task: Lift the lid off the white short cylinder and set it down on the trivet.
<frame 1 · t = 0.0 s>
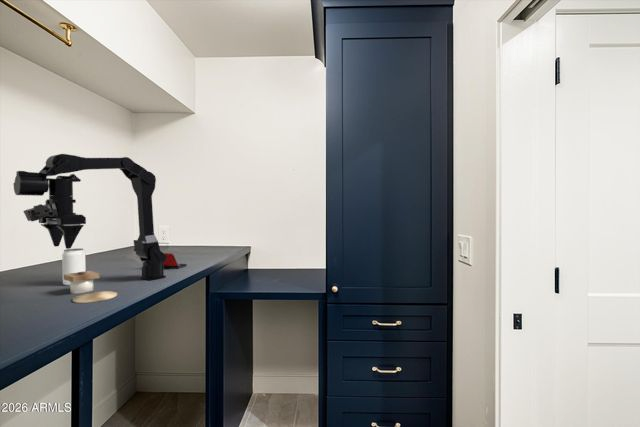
hand: (62, 247, 100), 15 cm above the counter, tool pointing down, fingers open, 9 cm apart
red cap: (167, 268, 145), on the counter
trivet: (95, 297, 98), on the counter
can: (74, 284, 116), on the counter
lid: (81, 278, 105), point 4 cm above the counter, touching white short cylinder
white short cylinder: (81, 290, 106), on the counter
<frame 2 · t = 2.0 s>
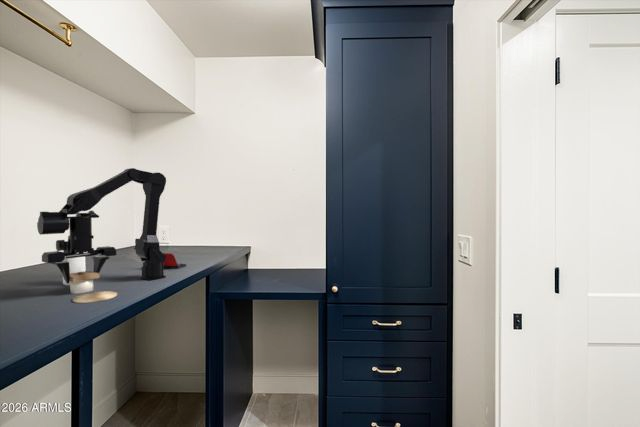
hand: (81, 280, 105), 3 cm above the counter, tool pointing down, fingers closed on lid, 7 cm apart
lid: (81, 278, 105), point 4 cm above the counter, touching gripper, white short cylinder
everything else where it was.
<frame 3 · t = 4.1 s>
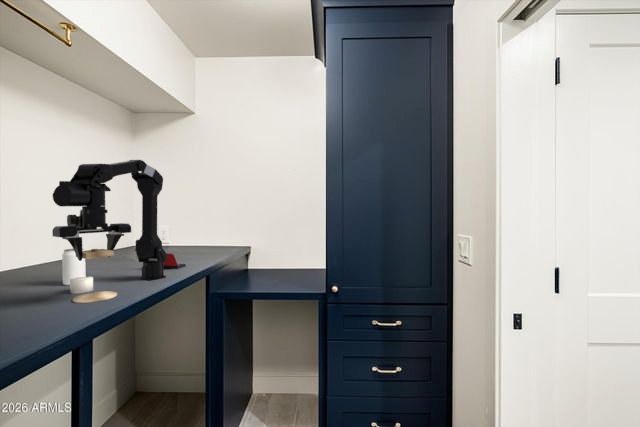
hand: (95, 258, 98), 12 cm above the counter, tool pointing down, fingers closed on lid, 7 cm apart
lid: (94, 256, 98), point 12 cm above the counter, touching gripper
everything else where it was.
when the fingers open (1 cm above the counter, at t = 6.4 s): lid drops 2 cm, resting on trivet.
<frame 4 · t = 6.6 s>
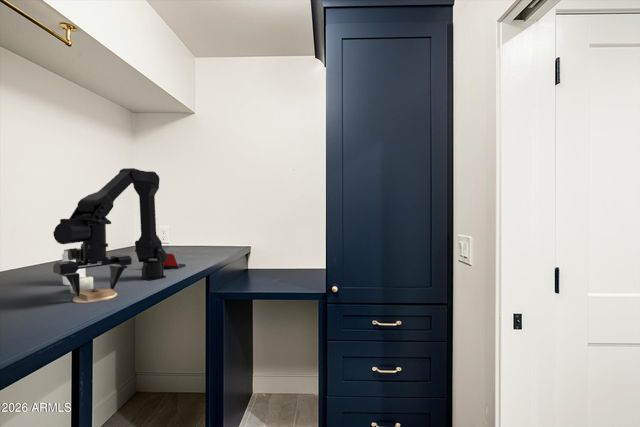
hand: (95, 292, 98), 1 cm above the counter, tool pointing down, fingers open, 9 cm apart
lid: (95, 296, 98), resting on trivet
everything else where it was.
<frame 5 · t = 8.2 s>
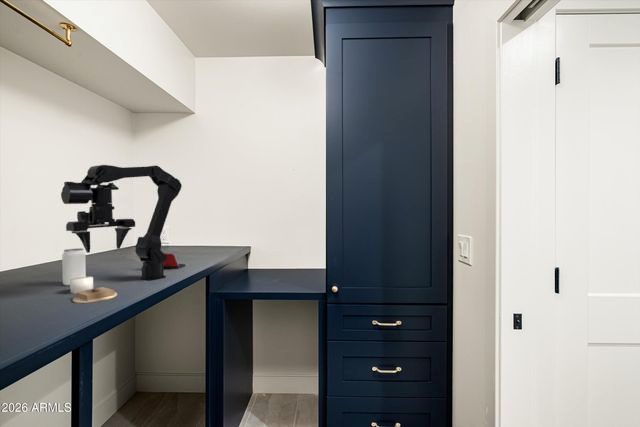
hand: (103, 250, 109), 12 cm above the counter, tool pointing down, fingers open, 9 cm apart
nothing on the counter moved.
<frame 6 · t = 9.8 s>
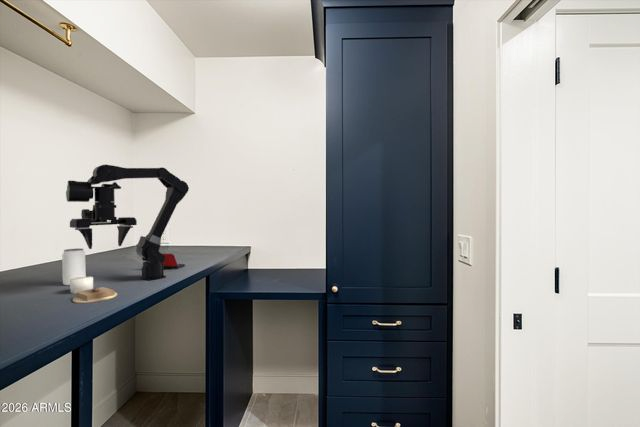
hand: (105, 247, 113), 13 cm above the counter, tool pointing down, fingers open, 9 cm apart
at the end: lid inside the target area on the trivet (0.0 cm from its centre), point 0.4 cm above the trivet's base; lid touching trivet; the gripper is holding nothing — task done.
